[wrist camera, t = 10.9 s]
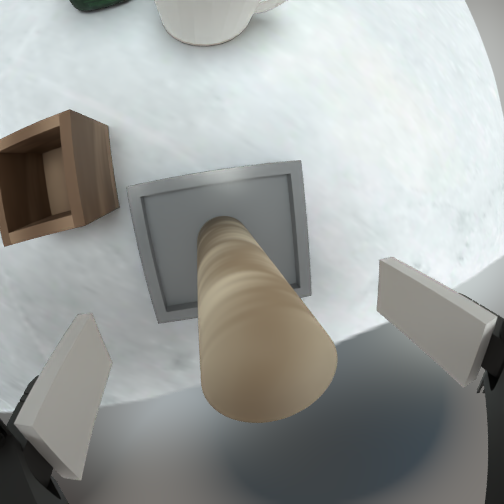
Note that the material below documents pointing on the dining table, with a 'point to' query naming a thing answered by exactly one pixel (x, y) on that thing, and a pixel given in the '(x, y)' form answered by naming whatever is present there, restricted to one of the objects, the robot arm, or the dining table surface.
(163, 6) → the mug
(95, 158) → the pen cup
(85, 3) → the coffee jar
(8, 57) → the dining table surface
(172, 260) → the tray
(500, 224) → the dining table surface
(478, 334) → the robot arm
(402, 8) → the dining table surface
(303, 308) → the dowel
